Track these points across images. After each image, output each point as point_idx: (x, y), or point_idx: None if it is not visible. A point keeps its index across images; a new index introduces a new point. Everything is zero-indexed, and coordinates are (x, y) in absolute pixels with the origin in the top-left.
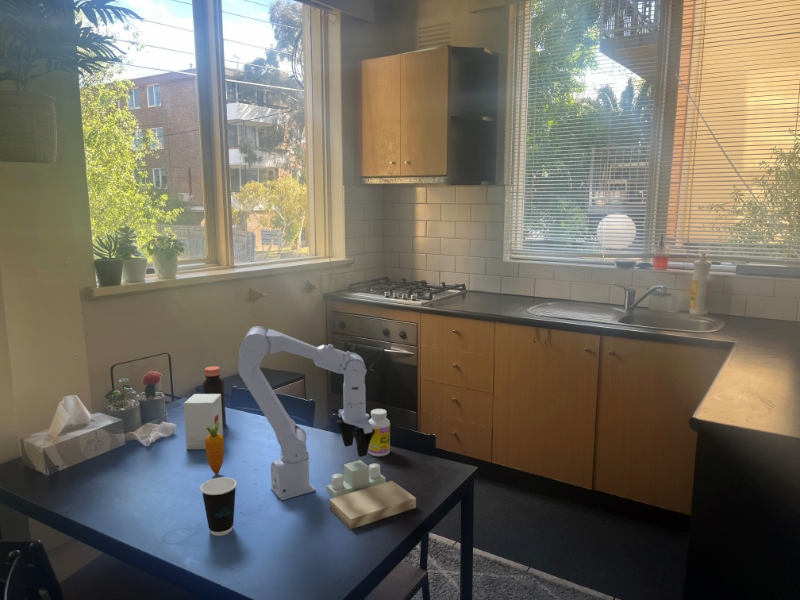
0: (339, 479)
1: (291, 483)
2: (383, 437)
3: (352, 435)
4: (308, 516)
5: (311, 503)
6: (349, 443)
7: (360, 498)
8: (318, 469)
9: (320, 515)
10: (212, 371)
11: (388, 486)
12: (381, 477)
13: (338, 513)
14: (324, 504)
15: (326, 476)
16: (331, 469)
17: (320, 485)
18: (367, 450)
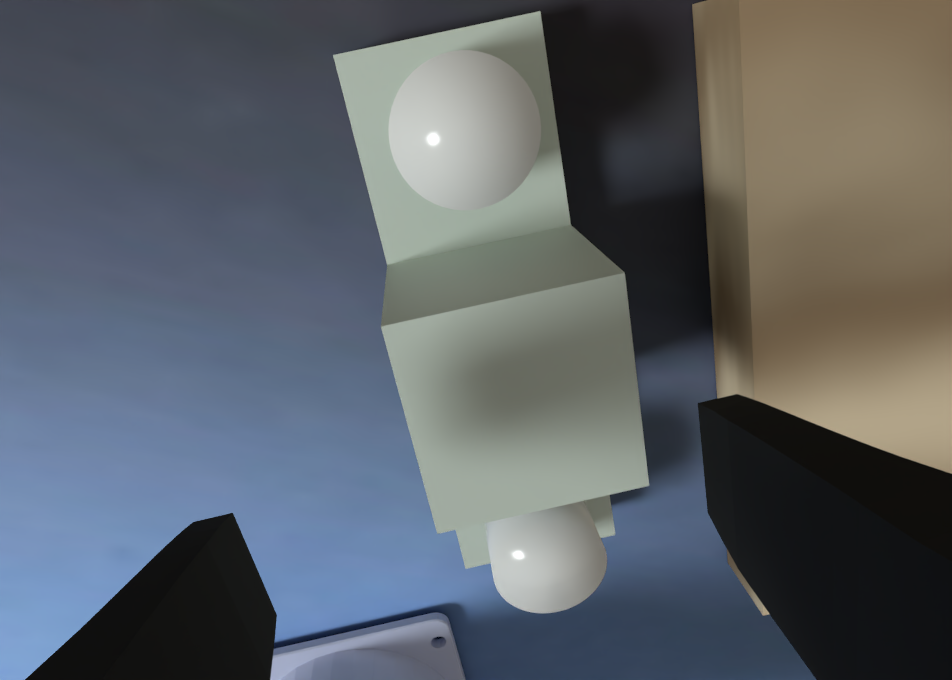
0: (606, 556)
1: None
2: None
3: (154, 654)
4: (744, 675)
5: (600, 646)
6: (239, 590)
7: (884, 411)
8: (42, 541)
9: (771, 619)
10: None
11: (836, 91)
12: (506, 55)
13: None
14: (653, 581)
15: (206, 504)
16: (63, 443)
17: (359, 566)
18: (796, 421)
